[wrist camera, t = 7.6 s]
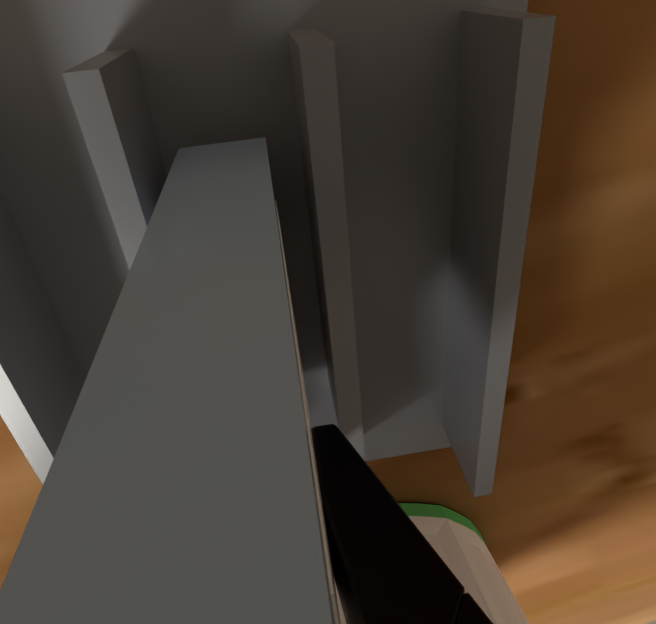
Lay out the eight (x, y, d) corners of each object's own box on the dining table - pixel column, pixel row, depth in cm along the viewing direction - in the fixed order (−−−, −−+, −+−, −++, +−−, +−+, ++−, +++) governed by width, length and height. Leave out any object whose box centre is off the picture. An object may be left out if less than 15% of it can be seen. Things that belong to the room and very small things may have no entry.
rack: (470, 419, 17) (517, 512, 14) (104, 479, 16) (72, 591, 13) (511, -59, 10) (623, -76, 7) (-131, 10, 9) (-310, 24, 6)
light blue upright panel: (309, 411, 13) (391, 961, 6) (245, 422, 13) (248, 995, 6) (266, 136, 10) (348, 694, 2) (178, 148, 9) (-82, 783, 2)
